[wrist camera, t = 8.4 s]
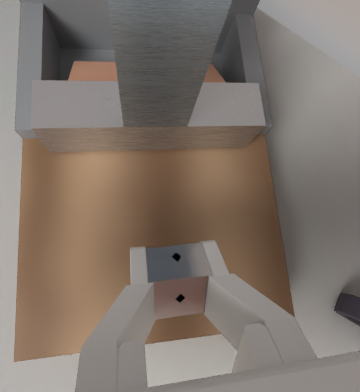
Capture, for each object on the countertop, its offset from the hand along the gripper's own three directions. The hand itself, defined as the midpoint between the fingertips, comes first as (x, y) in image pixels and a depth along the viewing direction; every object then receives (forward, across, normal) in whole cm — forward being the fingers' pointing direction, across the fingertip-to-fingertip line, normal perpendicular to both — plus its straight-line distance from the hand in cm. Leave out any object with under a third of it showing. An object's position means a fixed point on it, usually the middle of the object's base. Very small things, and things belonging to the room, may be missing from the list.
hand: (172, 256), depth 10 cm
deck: (+7, 0, +5) cm, 8 cm away
